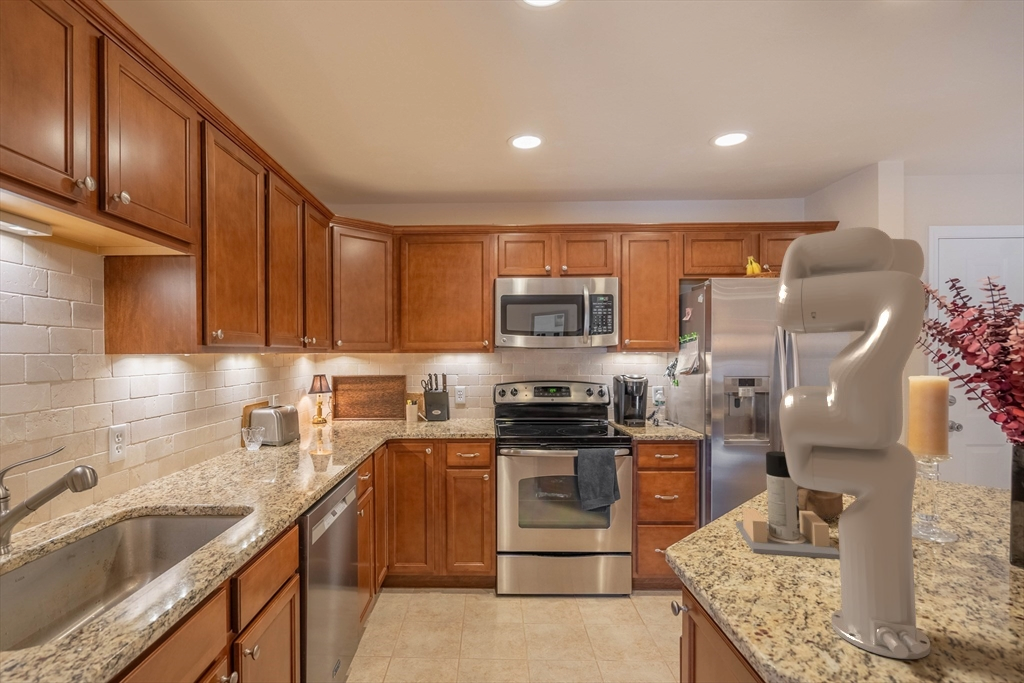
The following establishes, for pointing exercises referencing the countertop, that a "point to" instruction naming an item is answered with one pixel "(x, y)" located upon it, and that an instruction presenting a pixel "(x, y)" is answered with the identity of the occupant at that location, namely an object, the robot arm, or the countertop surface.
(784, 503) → the spray can
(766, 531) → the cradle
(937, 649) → the countertop surface
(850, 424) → the robot arm
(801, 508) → the bowl
